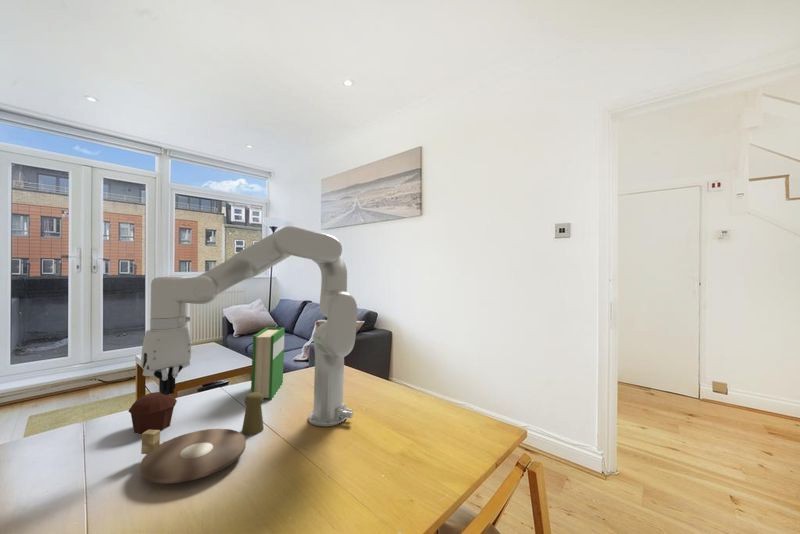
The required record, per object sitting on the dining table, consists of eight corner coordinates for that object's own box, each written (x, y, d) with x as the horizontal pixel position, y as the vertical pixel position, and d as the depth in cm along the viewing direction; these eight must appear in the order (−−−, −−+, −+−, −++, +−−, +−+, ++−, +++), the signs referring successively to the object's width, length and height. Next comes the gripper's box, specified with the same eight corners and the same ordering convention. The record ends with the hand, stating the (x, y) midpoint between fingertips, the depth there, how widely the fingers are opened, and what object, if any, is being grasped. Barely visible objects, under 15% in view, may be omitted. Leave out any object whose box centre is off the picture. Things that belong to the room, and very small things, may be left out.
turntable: (244, 426, 94) (245, 409, 94) (247, 467, 75) (247, 445, 75) (146, 443, 84) (147, 424, 84) (119, 497, 64) (120, 471, 64)
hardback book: (271, 400, 119) (273, 335, 119) (250, 400, 118) (253, 335, 118) (282, 383, 136) (284, 327, 137) (264, 384, 135) (266, 327, 136)
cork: (255, 436, 93) (256, 398, 93) (237, 433, 94) (238, 396, 94) (267, 426, 99) (269, 391, 99) (250, 424, 100) (251, 389, 100)
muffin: (161, 416, 104) (162, 385, 104) (184, 422, 100) (185, 390, 100) (118, 432, 93) (119, 398, 93) (142, 440, 89) (143, 404, 89)
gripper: (189, 318, 92) (188, 382, 92) (126, 326, 79) (125, 400, 79) (205, 320, 89) (204, 386, 89) (142, 329, 75) (141, 407, 75)
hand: (167, 393), depth 84 cm, fingers closed
